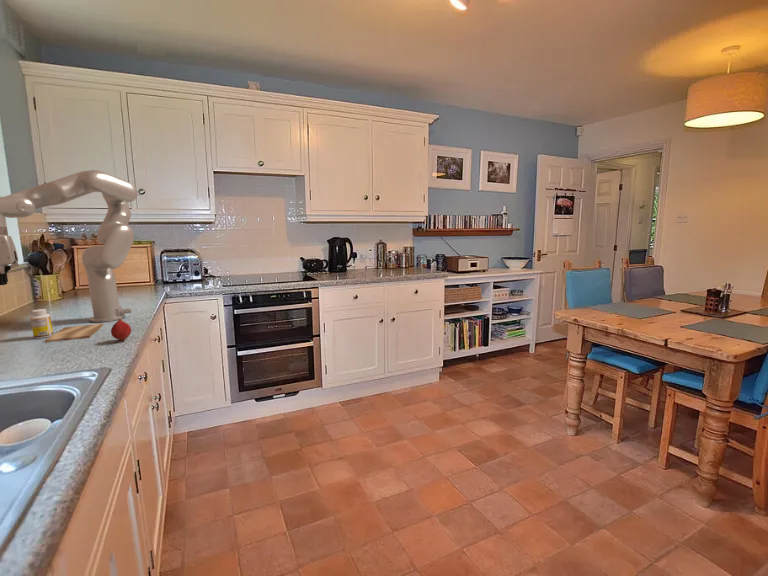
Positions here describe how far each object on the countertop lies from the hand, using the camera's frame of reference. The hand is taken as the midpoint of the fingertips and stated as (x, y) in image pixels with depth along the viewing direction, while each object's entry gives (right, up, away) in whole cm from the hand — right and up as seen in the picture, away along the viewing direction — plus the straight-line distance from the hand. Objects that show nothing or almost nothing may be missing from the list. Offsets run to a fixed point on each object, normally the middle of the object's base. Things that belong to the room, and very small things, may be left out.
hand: (2, 284), depth 136 cm
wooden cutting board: (+18, -18, +11) cm, 28 cm away
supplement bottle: (+9, -20, +7) cm, 22 cm away
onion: (+42, -20, 0) cm, 47 cm away
